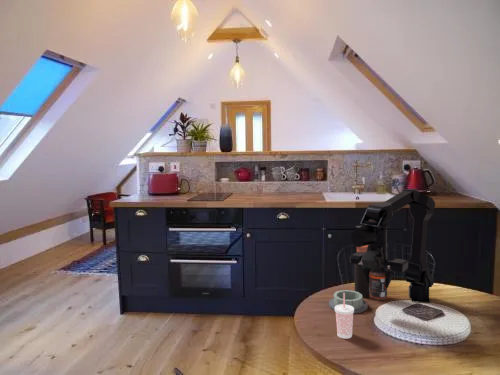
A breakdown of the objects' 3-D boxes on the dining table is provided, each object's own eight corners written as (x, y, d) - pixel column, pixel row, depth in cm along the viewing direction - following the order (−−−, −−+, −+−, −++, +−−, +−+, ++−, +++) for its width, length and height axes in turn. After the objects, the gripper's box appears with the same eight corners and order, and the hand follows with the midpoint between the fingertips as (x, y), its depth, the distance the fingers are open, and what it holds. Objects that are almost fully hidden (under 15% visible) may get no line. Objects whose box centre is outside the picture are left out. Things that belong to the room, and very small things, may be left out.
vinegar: (353, 291, 162) (353, 243, 160) (370, 291, 161) (370, 243, 159) (355, 297, 155) (355, 248, 153) (373, 297, 154) (373, 247, 152)
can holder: (365, 298, 153) (365, 289, 153) (369, 314, 140) (369, 303, 139) (329, 297, 156) (328, 287, 156) (328, 312, 143) (328, 302, 142)
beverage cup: (331, 333, 128) (330, 291, 126) (346, 328, 130) (346, 287, 128) (342, 341, 122) (341, 298, 120) (358, 337, 124) (358, 294, 123)
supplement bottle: (388, 300, 134) (388, 268, 133) (370, 300, 135) (369, 267, 134) (386, 293, 140) (385, 262, 138) (368, 293, 141) (368, 262, 140)
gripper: (341, 243, 135) (342, 286, 137) (395, 251, 123) (395, 299, 125) (356, 236, 144) (357, 277, 145) (408, 243, 131) (408, 288, 133)
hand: (378, 285), depth 137 cm, fingers closed on supplement bottle, 6 cm apart
